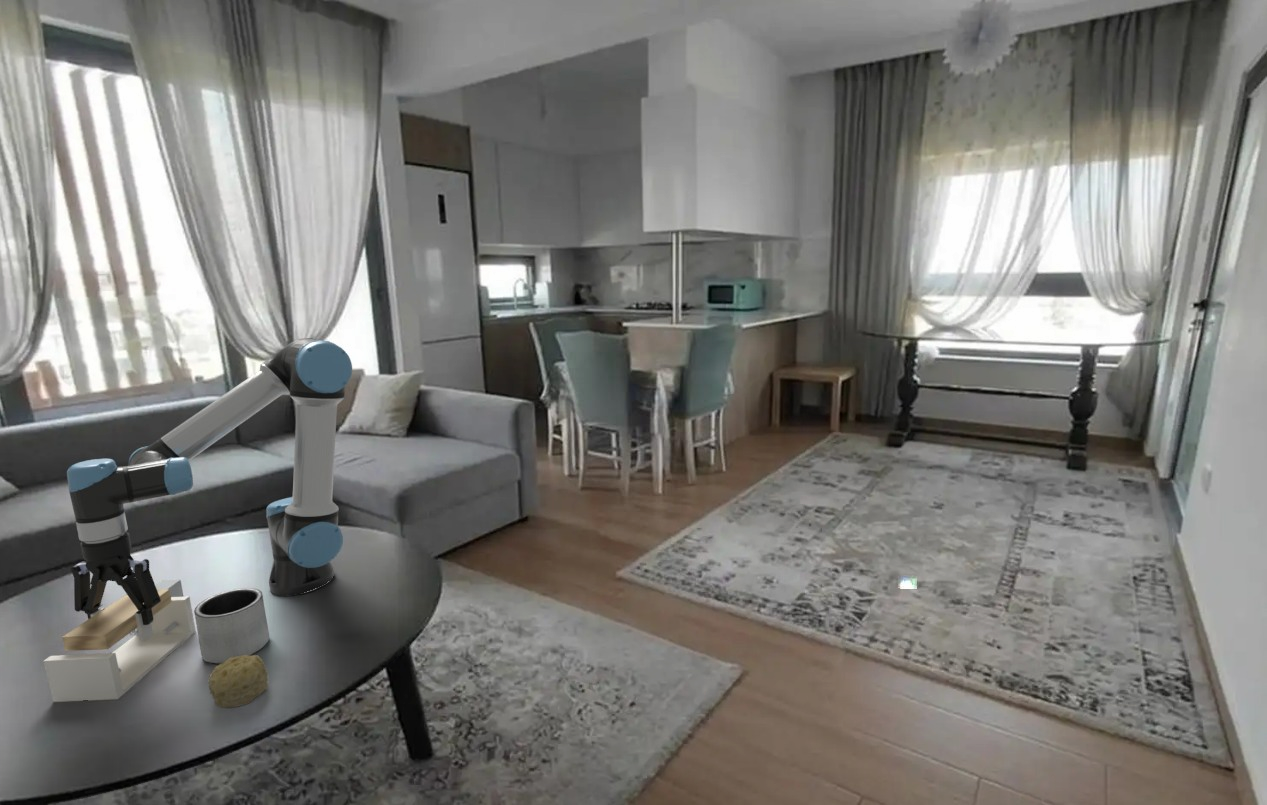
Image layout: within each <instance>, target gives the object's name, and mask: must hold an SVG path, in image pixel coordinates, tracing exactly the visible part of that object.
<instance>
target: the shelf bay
mask: <svg viewBox="0 0 1267 805" xmlns="http://www.w3.org/2000/svg"><path fill="white" fill-rule="evenodd" d="M171 600H172V602H171V603H170V604H168V605H167V606H165V607H164V608H163V609H161V610H160V611H159V612H157V613H156V614H155V615H153V622H151V626H152V631H153V635H152V636H150V637H149V638H148V639H147V640H145V641H144V642H140V639H139V634H138V629H137V628H136V629H135V630H134V636H133V637H131V638H130V639H129V640H127V641H126V642H124V643H123V644H121V646H119V647H117V649H115V650H114V651H113V652H106V653H105V652H104V653H88V654H87V653H86V654H85V653H83V654H64V655H63V654H62V655H49V656H48V657H46V659H44V660H43V665H44V668H45V673H46V678H47V682H48V687H49V690H50V694H51V698H52V699H51V700H52V702H53V703H66V702H81V701H83V700H88V701H105V700H119V699H121V697H122V696H123V695H124V694H125V693H126V692H128V691H129V690H130V689H131V688H133V686H135V685H136V684H137V683H138V682H140V681H141V680H142V679H143V678H144V677H145V676H146V675H148V673H150V672H151V671H152V670H154V668H156V667H157V666H158V665H159V664H160V663H161V662H162V661H164V660H165V659H166V658H167V657H169V655H170V654H172V653H173V652H174V651H175V650H176V649H178V648H179V647H180V646H181V645H182V644H183V643H184V642H185V641H187V640H188V639H189V638H191V637H192V635H193V634H195V633H196V631H197V630H196V626H195V624H196V623H195V621H194V620H195V619H194V614H193V609H192V602H191V597H190V595H189V596H187V595H186V596H184V597H171ZM83 702H84V701H83Z"/></svg>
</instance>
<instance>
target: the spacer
mask: <svg viewBox="0 0 1267 805" xmlns="http://www.w3.org/2000/svg"><path fill="white" fill-rule="evenodd" d="M155 586H156V589H157V590H165V589H170V595H171V597H185V596H184V592H183V586H182V581H181V579H165V580H161V581H159V582H158V583H156V584H155Z"/></svg>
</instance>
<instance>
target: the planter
mask: <svg viewBox="0 0 1267 805" xmlns="http://www.w3.org/2000/svg"><path fill="white" fill-rule="evenodd" d="M194 617H195V619H194V620H195V624H196V629H197V630H196V631H197V637H198V643H199V650H200V655H201V657H202V658H201V659H203V660H204V661H205V662H206V663H207V662H208V663H211V664H218V665H219V664H221V663H223V662H225V661H226V660H228V659H229V658H231V657H237V656H239V657H240V656H242V655H249V656H252V655H255V654H256V653H257V652H259V651H260V650H261V649H263V648H264V646H265V645H266V644H267V643H268V641H269V640H270V630H269V625H268V619H267V614H266V607H265V604H264V594H263V592H262V591H261V590H260V589H258V588H253V587H241V588H234V589H230V590H226V591H221V592H219V593H217V594H214V595H212V596H210V597H208V598H206V599H204V600H202V601H201V602H200V603H199V604H197V605H196V607H194Z"/></svg>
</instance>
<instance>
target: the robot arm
mask: <svg viewBox="0 0 1267 805" xmlns="http://www.w3.org/2000/svg"><path fill="white" fill-rule="evenodd" d="M352 375H353V363H352V360H351V358H350V356H349V355H348V353H347V352H346V351H345V350H344V349H343V348H342V347H341V346H339V345H337V344H336V343H334V342H332V341H330V340H329V341H328V340H323V339H316V338H311V337H309V338H308V337H307V338H306V337H305V338H299V339H296V340H294V341H292V342H290V343H288V344H287V345H286V346H284V347H282V348H281V349H279V350H278V351H277V352H276V353H274V354H273V355H272V356H270V357H269V358H268V359H266V360H264V362H262V363H261V364H260V366H259V370H258V371H257V372H255V373H254V374H252V375H251V376H249V377H248V378H247V379H245V380H243V381H242V382H240V383H239V384H237V385H236V386H235V387H233V388H232V389H230V390H228V391H227V392H226V393H225V394H224V395H221V396H220V397H219V398H217V399H216V400H214V401H213V402H211V403H210V404H209V405H207V406H205V407H204V408H202V409H201V410H200V411H198V412H197V413H195V414H194V415H192V416H191V417H190V418H188V419H186V420H185V421H183V422H182V423H181V424H179V425H178V426H176V427H175V428H173V429H172V430H171V431H169V432H167V433H166V434H164V435H163V436H162V437H160V438H159V439H157V440H156V441H154V442H153V443H151V444H150V445H147V446H143V447H140V448H137V449H136V450H135V451H133V453H131V455H130V456H129V459H128V463H127V465H125V466H118V465H117V464H116V461H115V460H114V459H112V458H98V459H97V458H95V459H90V460H89V459H88V460H84V461H80V462H77V463H74V464H72V465H71V466H69V467H68V469H67V471H66V477H67V483H68V484H67V485H68V491H69V492H68V493H69V496H70V500H71V506H72V510H73V513H74V514H73V515H74V517H75V525H76V530H77V533H78V534H77V535H78V539H79V541H81V542H80V548H81V553H82V558H83V560H84V561H80V562H79V563H77V564H75V565H73V566H72V567H70V571H71V574H72V575H73V576H72V577H73V584H74V585H73V586H74V588H73V590H74V592H73V594H74V601H73V602H74V611H75V612H78V613H79V612H81V611H82V612H84V613H85V614H86V615H87V620H88V619H90V618H91V617H93V616H95V615H96V614H98V613H99V612H101V611H102V610H104V609H105V608H106V607H102V606H103V604H102V601H103V597H104V593H105V589H106V586H107V582H109V581H111V582H115V584H117V586H119V587H121V588H122V589H123V591H124V592H125V593H126V594H127V595H128V596H129V598H130V599H131V601H132V602H133V604H134V605H135V606H136V608H137V609H138V611H137V612H135V618H136V623H137V629H138V634H139V639H140V642H144V641H145V640H147V639H148V638H149V637H150V636H152V635H153V631H152V626H151V622H153V614H152V608H153V607H154V606H155V605H157V604H158V603H160V602H161V599H160V597H159V594H158V591H157V589H156V586H155V585H156V584H155V582H154V578H153V576H152V573H151V571H150V560H149V559H148V558H145V559H143V560H135V559H134V558H133V556H132V554H131V551H132V542H131V536H130V533H129V532H127V531H128V523H127V517H126V513H125V507H124V505H125V504H131V503H135V502H140V501H144V500H151V499H156V498H162V497H166V496H176V495H178V494H180V493H184V492H188V491H191V490H192V489H193V487H194V477H193V472H192V467H191V463H190V461H191V460H192V459H194V458H195V457H196V456H199V454H201V453H202V452H204V451H205V450H206V449H208V448H209V447H210V446H212V445H213V444H215V443H216V442H218V441H219V440H221V439H222V438H223V437H224V436H226V435H228V434H229V433H230V432H232V431H233V430H235V428H237V427H239V426H240V425H241V424H243V423H244V422H246V421H247V420H248V419H250V418H251V417H253V416H254V415H256V413H258V412H260V411H261V410H263V409H264V408H265V407H266V406H268V405H269V404H271V403H272V402H273V401H275V400H276V399H278V398H279V397H281V396H283V395H285V396H289V397H290V398H291V399H292V400H293V402H295V404H296V414H295V417H296V418H295V437H294V455H293V456H294V458H293V477H292V478H293V482H292V483H293V484H292V486H293V487H292V496H290V497H286V498H282V499H278V500H275V501H273V502H271V503H269V504H268V505H267V507H266V516H265V517H266V518H265V519H267V525H268V531H269V538H270V539H269V540H270V545H271V552H272V559H273V561H272V566H271V571H270V573H269V574H270V575H269V579H268V587H269V591H270V592H271V593H272V594H274V595H276V596H281V595H284V596H286V595H291V596H296V595H295V594H299V595H302V594H301V593H304V592H307V591H310V590H313V589H315V588H318V587H320V586H322V585H324V584H326V583H327V582H328V581H330V580H331V579H332V577H333V576H334V577H335V570H334V566H333V564H332V560H334V559H335V558H336V557H337V556H338V554H340V552H341V551H342V550H341V549H342V547H343V544H344V536H343V533H342V530H341V528H340V527H339V526H338V525H339V506H338V505H337V504H336V503H335V502H334V501H333V489H334V472H335V470H334V469H335V454H336V453H335V451H336V431H337V430H336V429H337V413H338V411H337V410H338V404H340V403H341V402H342V401H343V400H344V399H345V392H346V391H345V390H346V385H348V383H349V382H350V381H351V380H350V379H351V378H352ZM91 574H92V576H91ZM332 580H333V579H332ZM332 580H331V581H332ZM331 581H330V582H331ZM326 585H327V584H326ZM304 594H305V593H304ZM143 603H144V604H143Z"/></svg>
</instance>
